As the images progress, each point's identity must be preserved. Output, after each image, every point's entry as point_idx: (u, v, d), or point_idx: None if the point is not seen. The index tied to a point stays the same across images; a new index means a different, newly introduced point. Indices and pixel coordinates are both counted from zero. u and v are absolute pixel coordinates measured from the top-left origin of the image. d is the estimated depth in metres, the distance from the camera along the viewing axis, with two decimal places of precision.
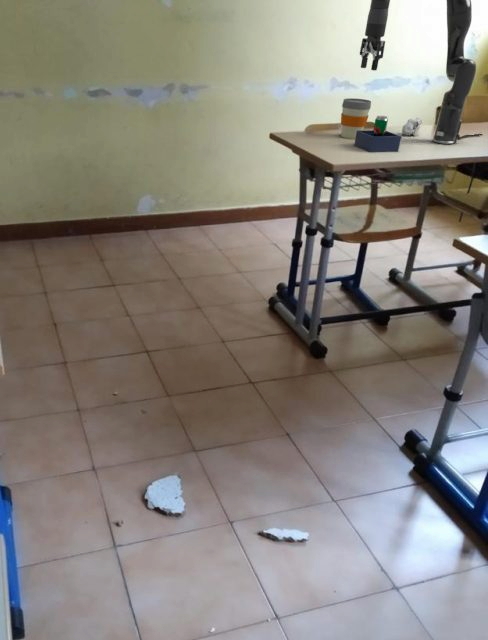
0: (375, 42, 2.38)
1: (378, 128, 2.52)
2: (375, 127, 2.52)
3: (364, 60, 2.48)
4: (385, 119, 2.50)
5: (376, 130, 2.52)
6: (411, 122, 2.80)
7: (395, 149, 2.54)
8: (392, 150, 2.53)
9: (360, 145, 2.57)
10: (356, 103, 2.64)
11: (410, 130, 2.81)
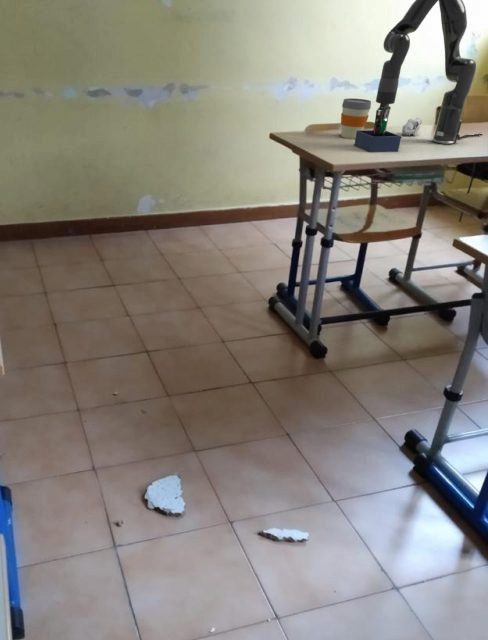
0: (379, 108, 2.47)
1: None
2: (375, 127, 2.52)
3: None
4: (385, 119, 2.50)
5: None
6: (411, 122, 2.80)
7: (395, 149, 2.54)
8: (392, 150, 2.53)
9: (360, 145, 2.57)
10: (356, 103, 2.64)
11: (410, 130, 2.81)
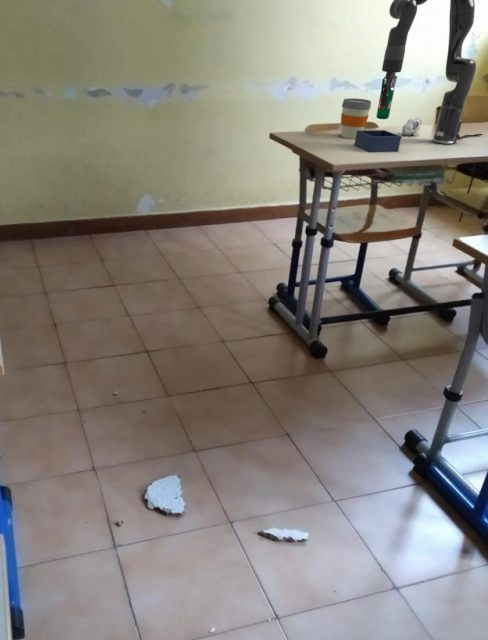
0: (385, 77, 2.41)
1: None
2: (381, 97, 2.46)
3: None
4: (391, 88, 2.43)
5: None
6: (411, 122, 2.80)
7: (395, 149, 2.54)
8: (392, 150, 2.53)
9: (360, 145, 2.57)
10: (356, 103, 2.64)
11: (410, 130, 2.81)
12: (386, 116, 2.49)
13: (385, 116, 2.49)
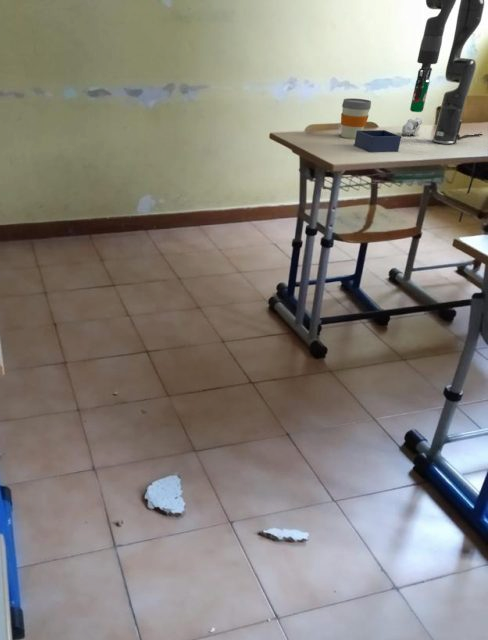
0: (421, 69, 2.35)
1: None
2: (416, 89, 2.40)
3: None
4: (427, 80, 2.38)
5: None
6: (411, 122, 2.80)
7: (395, 149, 2.54)
8: (392, 150, 2.53)
9: (360, 145, 2.57)
10: (356, 103, 2.64)
11: (410, 130, 2.81)
12: (420, 109, 2.43)
13: (419, 109, 2.43)
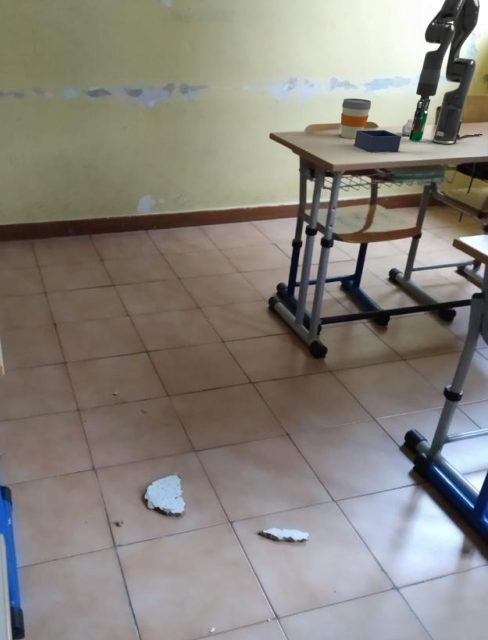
0: (419, 100, 2.40)
1: None
2: None
3: None
4: (425, 112, 2.43)
5: None
6: (411, 122, 2.80)
7: (395, 149, 2.54)
8: (392, 150, 2.53)
9: (360, 145, 2.57)
10: (356, 103, 2.64)
11: (410, 130, 2.81)
12: (419, 139, 2.49)
13: (418, 139, 2.49)
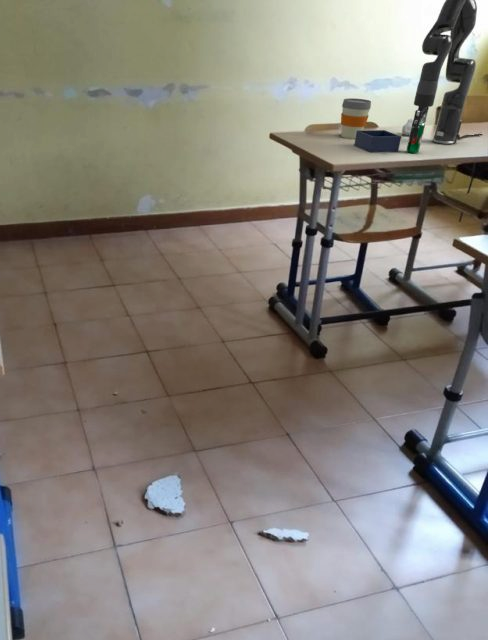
0: None
1: None
2: None
3: None
4: (422, 124, 2.46)
5: None
6: (411, 122, 2.80)
7: (395, 149, 2.54)
8: (392, 150, 2.53)
9: (360, 145, 2.57)
10: (356, 103, 2.64)
11: (410, 130, 2.81)
12: (416, 150, 2.51)
13: (415, 150, 2.51)
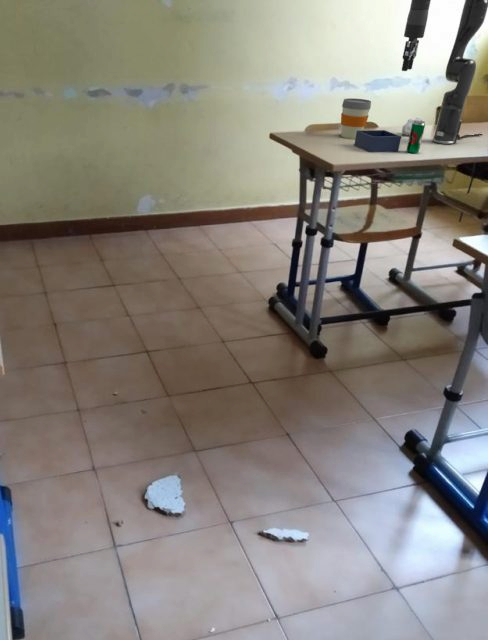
0: None
1: (415, 133, 2.48)
2: (412, 132, 2.48)
3: (409, 61, 2.48)
4: (422, 124, 2.46)
5: (413, 135, 2.48)
6: (411, 122, 2.80)
7: (395, 149, 2.54)
8: (392, 150, 2.53)
9: (360, 145, 2.57)
10: (356, 103, 2.64)
11: (410, 130, 2.81)
12: (416, 150, 2.51)
13: (415, 150, 2.51)
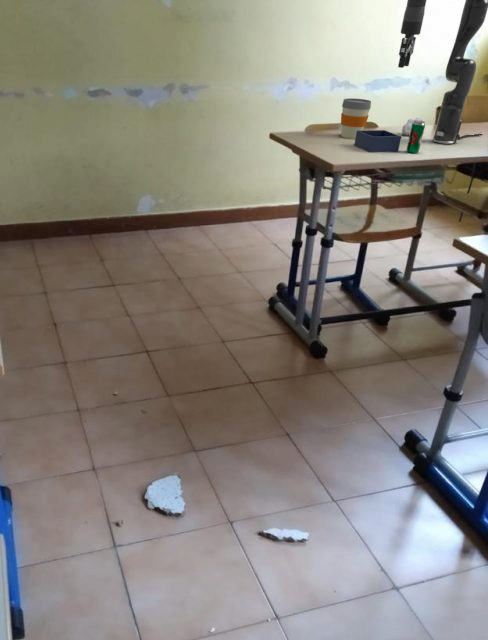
0: None
1: (415, 133, 2.48)
2: (412, 132, 2.48)
3: (406, 58, 2.49)
4: (422, 124, 2.46)
5: (413, 135, 2.48)
6: (411, 122, 2.80)
7: (395, 149, 2.54)
8: (392, 150, 2.53)
9: (360, 145, 2.57)
10: (356, 103, 2.64)
11: (410, 130, 2.81)
12: (416, 150, 2.51)
13: (415, 150, 2.51)
